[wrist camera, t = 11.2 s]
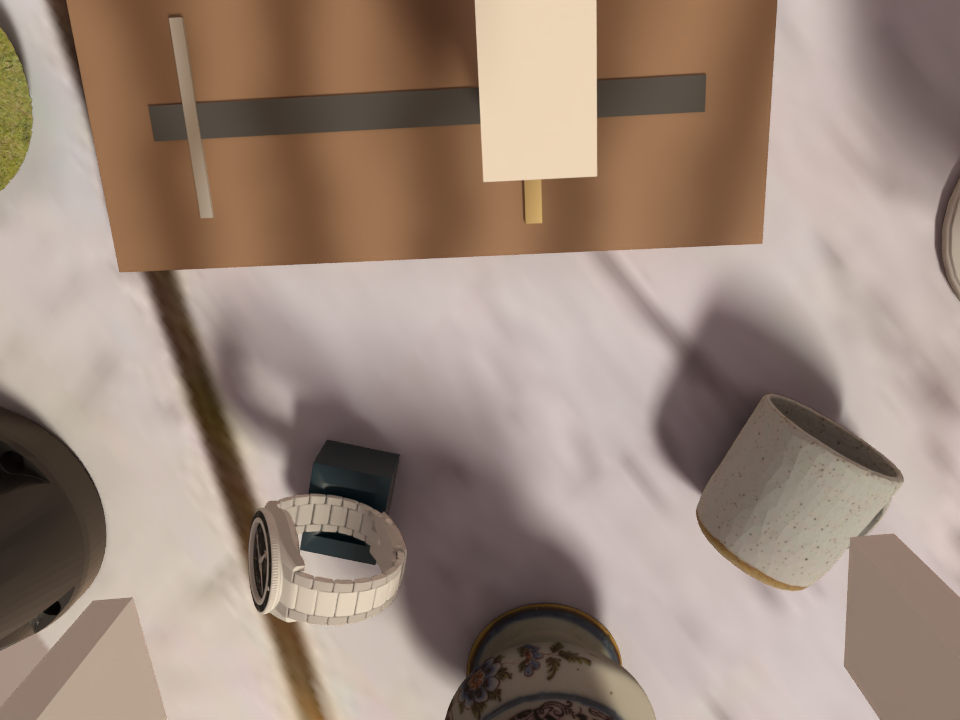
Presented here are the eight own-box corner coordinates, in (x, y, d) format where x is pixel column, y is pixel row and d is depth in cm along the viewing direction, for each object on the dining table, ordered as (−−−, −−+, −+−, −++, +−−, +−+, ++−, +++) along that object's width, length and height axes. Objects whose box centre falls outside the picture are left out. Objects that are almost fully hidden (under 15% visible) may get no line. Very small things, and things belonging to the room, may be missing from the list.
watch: (294, 432, 42) (222, 529, 31) (429, 460, 42) (403, 566, 32) (282, 516, 44) (210, 635, 33) (412, 543, 44) (382, 669, 33)
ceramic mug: (672, 495, 42) (709, 571, 35) (745, 376, 40) (801, 430, 33) (827, 563, 43) (894, 651, 36) (906, 451, 41) (995, 519, 34)
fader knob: (489, 172, 34) (483, 182, 26) (483, 34, 32) (474, -5, 24) (574, 167, 34) (597, 176, 25) (572, 29, 32) (596, -13, 24)
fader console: (147, 262, 39) (117, 273, 36) (95, -22, 35) (56, -37, 32) (742, 236, 38) (763, 244, 35) (759, -65, 34) (784, -86, 31)
